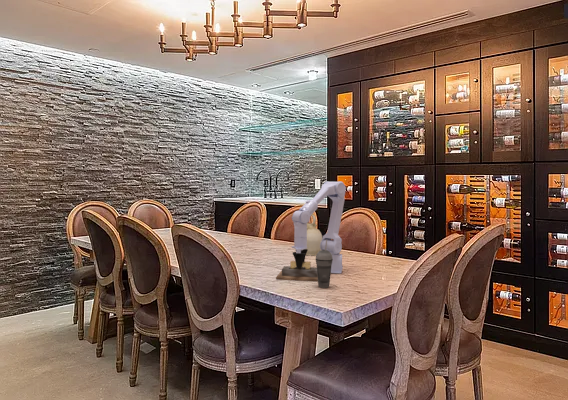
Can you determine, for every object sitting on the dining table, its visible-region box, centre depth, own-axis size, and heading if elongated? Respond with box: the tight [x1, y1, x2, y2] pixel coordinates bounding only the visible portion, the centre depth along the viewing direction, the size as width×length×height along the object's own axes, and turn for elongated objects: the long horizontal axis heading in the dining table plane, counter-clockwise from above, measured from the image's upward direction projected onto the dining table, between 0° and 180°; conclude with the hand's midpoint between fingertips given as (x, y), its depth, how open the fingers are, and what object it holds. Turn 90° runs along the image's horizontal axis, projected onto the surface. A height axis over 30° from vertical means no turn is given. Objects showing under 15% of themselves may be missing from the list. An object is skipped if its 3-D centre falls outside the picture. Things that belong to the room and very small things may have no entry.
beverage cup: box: [314, 239, 333, 289], centre depth 178 cm, size 7×7×20 cm
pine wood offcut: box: [289, 260, 312, 270], centre depth 197 cm, size 9×3×6 cm, turn 80°
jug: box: [306, 213, 323, 256], centre depth 260 cm, size 15×16×25 cm
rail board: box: [275, 265, 318, 282], centre depth 196 cm, size 20×14×4 cm
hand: (300, 266), depth 196 cm, fingers open, 7 cm apart
